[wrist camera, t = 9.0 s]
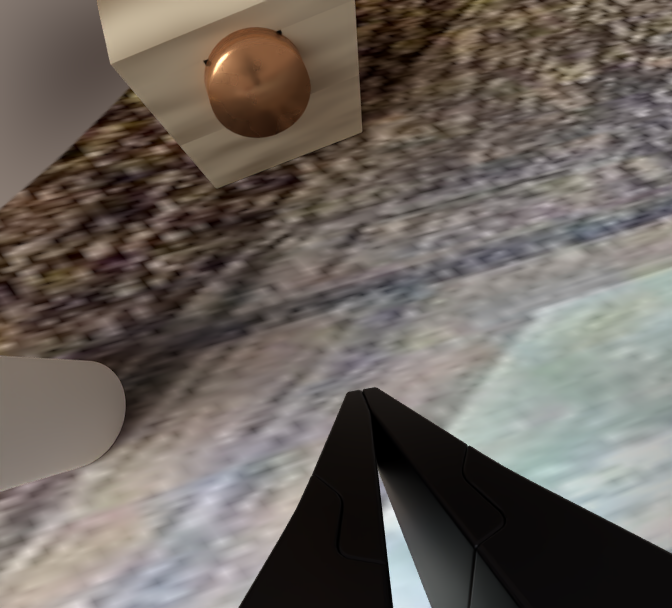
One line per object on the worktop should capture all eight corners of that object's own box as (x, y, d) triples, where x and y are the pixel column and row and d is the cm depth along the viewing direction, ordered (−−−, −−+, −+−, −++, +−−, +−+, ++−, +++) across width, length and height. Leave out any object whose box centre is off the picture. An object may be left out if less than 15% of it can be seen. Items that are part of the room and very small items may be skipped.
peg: (318, 117, 21) (298, 26, 15) (236, 150, 21) (187, 71, 16) (277, 15, 23) (246, -96, 18) (203, 45, 23) (150, -56, 18)
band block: (362, 132, 25) (352, -36, 15) (216, 188, 26) (110, 64, 15) (328, 55, 27) (299, -140, 17) (193, 109, 27) (85, -49, 17)
